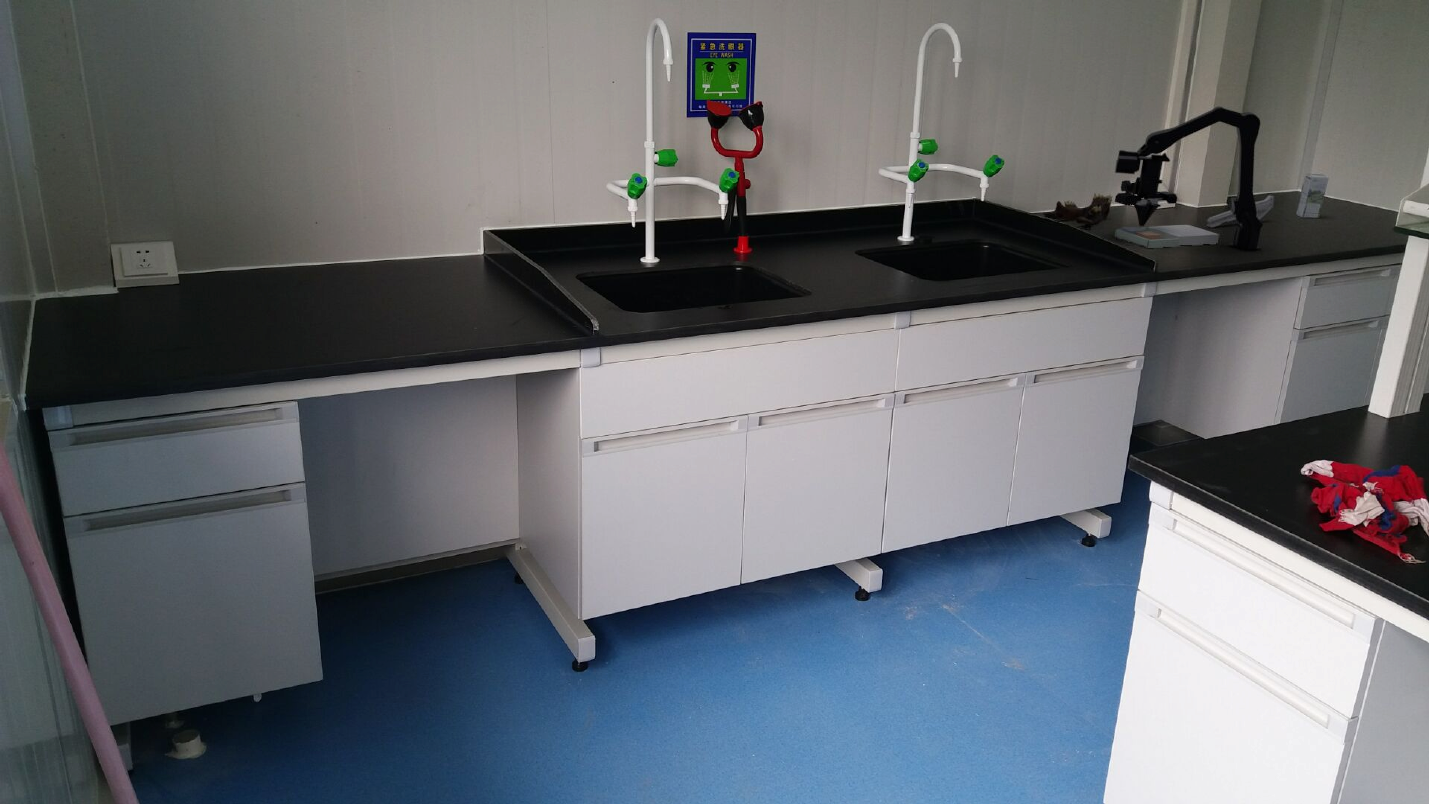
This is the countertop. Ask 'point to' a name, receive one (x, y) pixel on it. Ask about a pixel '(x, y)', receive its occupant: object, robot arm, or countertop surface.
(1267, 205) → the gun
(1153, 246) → the tray
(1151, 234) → the terracotta tile
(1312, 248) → the countertop surface
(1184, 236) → the plate
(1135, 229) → the slate blue tile
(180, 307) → the countertop surface
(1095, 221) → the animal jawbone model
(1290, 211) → the countertop surface
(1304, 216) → the syrup box
